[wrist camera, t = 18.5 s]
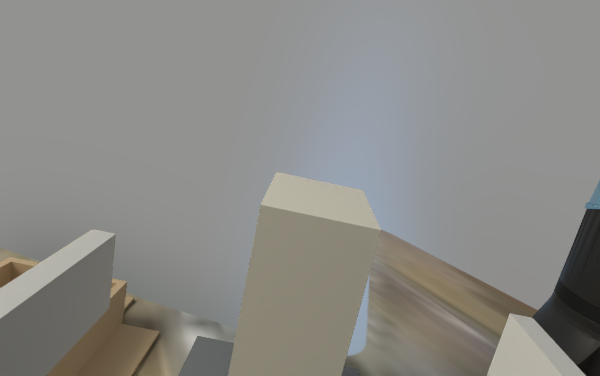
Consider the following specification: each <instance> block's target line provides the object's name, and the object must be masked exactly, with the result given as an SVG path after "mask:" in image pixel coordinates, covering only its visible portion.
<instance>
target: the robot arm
mask: <svg viewBox="0 0 600 376" xmlns="http://www.w3.org/2000/svg"><path fill="white" fill-rule="evenodd" d="M585 208H587V210H586V213H585V215H584V218H583V220H582V223H581V225H580V228H579V230H578V233H577V235H576V238H575V240H574V243H573V246H572V248H571V250H570V253H569V255H568V258H567V260H566V262H565V265H564V267H563V270H562V272H561V275H560V277H559V280H558V282H557V285H556V287H555V290H554V292H553V294H552V296H551V297H550V298H549V300H548V301H547V302H546V303H545V304H544V305H543V306H542V307H541V308H540V309H539V310H538V311H537V312H536V314H535V315H534V316H533V317H532V318H530V317H525V316H520V315H515V314H511V313H510V315H509V317H508V320H507V323H506V325H505V328H504V331H503V333H502V336H501V339H500V341H499V344H498V347H497V349H496V352H495V355H494V357H493V360H492V363H491V366H490V368H489V371H488V374H487V376H600V181H599V183H598V185H597V187H596V189H595V191H594V193H593V195H592V197H591V199H590V201H589V202H588V203H586V205H585ZM115 236H116V234H113V233H108V232H103V231H98V230H94V229H92V230H91V231H89V232H88V233H86V234H84V235H83V236H81V237H80V238H78V239H77V240H75V241H73V242H72V243H70V244H69V245H67V246H66V247H64V248H63V249H61V250H59V251H58V252H57V253H55V254H53V255H52V256H50V257H48V258H47V259H45V260H44V261H42V262H41V263H39V264H37V265H36V266H34V267H33V268H31V269H30V270H28V271H26V272H25V273H23V274H22V275H20V276H19V277H17V278H15V279H14V280H12V281H11V282H9V283H8V284H6V285H4V286H3V287H1V288H0V376H46V375H47V374H48V373H49V372H50V371H51V370H52V369H53V367H54V366H55V365H56V364H57V363H58V362H59V361H60V360H61V359H62V358H63V357H64V356H65V355H66V354H67V353H68V352H69V350H70V349H71V348H72V347H73V346H74V345H75V344H76V343H77V342H78V341H79V340H80V339H81V338H82V337H83V336H84V334H85V333H86V332H87V331H88V330H89V329H90V328H91V327H92V326H93V325H94V324H95V323H96V322H97V321H98V320H99V319H100V317H101V316H102V315H103V314H104V313H105V312H106V311H107V310H108V309H109V306H110V295H111V283H112V271H113V260H114V248H115Z"/></svg>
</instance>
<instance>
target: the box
mask: <svg viewBox="0 0 600 376" xmlns="http://www.w3.org/2000/svg"><path fill="white" fill-rule="evenodd" d="M380 232H381V229H380V227H379V224H378V222H377V220H376V218H375V216H374V214H373V212H372V209H371V207H370V205H369V203H368V201H367V199H366V196H365V194H364V192H363V190H359V189H354V188H350V187H345V186H340V185H336V184H331V183H326V182H321V181H316V180H312V179H307V178H303V177H298V176H293V175H288V174H284V173H279V172H277V173H276V174H275V176H274V178H273V180H272V182H271V185H270V187H269V189H268V191H267V193H266V195H265V197H264V199H263V201H262V203H261V206H260V211H259V217H258V222H257V227H256V232H255V237H254V243H253V248H252V253H251V258H250V263H249V269H248V274H247V279H246V284H245V289H244V295H243V300H242V305H241V310H240V315H239V321H238V326H237V331H236V336H235V341H234V347H233V352H232V357H231V362H230V367H229V373H228V376H341V375H342V371H343V368H344V364H345V360H346V357H347V353H348V349H349V346H350V342H351V338H352V335H353V331H354V327H355V324H356V320H357V316H358V313H359V309H360V305H361V302H362V298H363V294H364V290H365V287H366V283H367V280H368V276H369V272H370V269H371V265H372V261H373V258H374V254H375V250H376V247H377V243H378V239H379V236H380Z"/></svg>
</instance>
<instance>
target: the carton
mask: <svg viewBox="0 0 600 376" xmlns="http://www.w3.org/2000/svg"><path fill="white" fill-rule="evenodd" d="M37 264H39V263H36V262H31V261H26V260H21V259H17V258H12V257H9V258H7V259H5V260H3V261H1V262H0V288H1V287H3V286H4V285H6V284H8V283H9V282H11V281H12V280H14V279H15V278H17V277H19V276H20V275H22V274H23V273H25V272H26V271H28V270H30V269H31V268H33V267H34V266H36V265H37ZM126 288H127V281H122V280H117V279H112V283H111V295H110V306H109V309H108V310H107V311H106V312H105V313H104V314H103V315H102V316H101V317H100V319H99V320H98V321H97V322H96V323H95V324H94V325H93V326H92V327H91V328H90V329H89V330H88V331H87V332H86V333H85V334H84V336H83V337H82V338H81V339H80V340H79V341H78V342H77V343H76V344H75V345H74V346H73V347H72V348H71V349H70V350H69V352H68V353H67V354H66V355H65V356H64V357H63V358H62V359H61V360H60V361H59V362H58V363H57V364H56V365H55V366H54V367H53V369H52V370H51V371H50V372H49V373H48V374H47V375H46V376H133V374H134V373H135V371H136V370H137V368H138V367H139V365H140V363H141V362H142V360H143V359H144V357H145V356H146V354H147V353H148V351H149V349H150V348H151V346H152V345H153V343H154V342H155V340H156V339H157V337H158V335H159V332H160V331H155V330H150V329H146V328H141V327H136V326H131V325H126V324H122V322H123V314H124V311H125V310H126V309H127V307H128V306H129V305H130V304H131V303H132V302H133V300H134V298H132V297H127V296H126Z"/></svg>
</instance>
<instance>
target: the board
mask: <svg viewBox="0 0 600 376" xmlns="http://www.w3.org/2000/svg"><path fill="white" fill-rule="evenodd" d="M233 347H234V343H230V342H225V341H220V340H215V339H210V338H205V337H201V336H197V338H196V340H195V343H194V345H193V347H192V349H191V351H190V353H189V355H188V357H187V359H186V361H185V363H184V365H183V367H182V369H181V372H180V374H179V376H228V373H229V367H230V362H231V357H232V352H233ZM341 376H360V372H359V369H355V368H350V367H345V366H344V368H343V371H342V375H341Z"/></svg>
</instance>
